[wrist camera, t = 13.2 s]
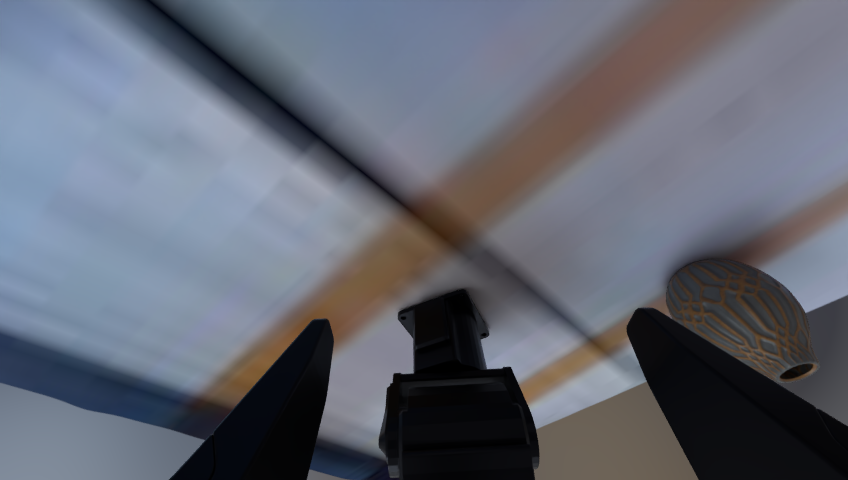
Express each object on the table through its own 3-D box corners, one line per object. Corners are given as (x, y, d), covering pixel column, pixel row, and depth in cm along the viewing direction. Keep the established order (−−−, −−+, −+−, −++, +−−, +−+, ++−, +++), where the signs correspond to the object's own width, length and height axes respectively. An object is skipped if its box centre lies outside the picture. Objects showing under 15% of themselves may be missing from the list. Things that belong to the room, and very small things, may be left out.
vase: (648, 265, 26) (741, 360, 18) (743, 232, 24) (885, 322, 17) (652, 315, 29) (731, 411, 22) (735, 290, 28) (849, 384, 21)
